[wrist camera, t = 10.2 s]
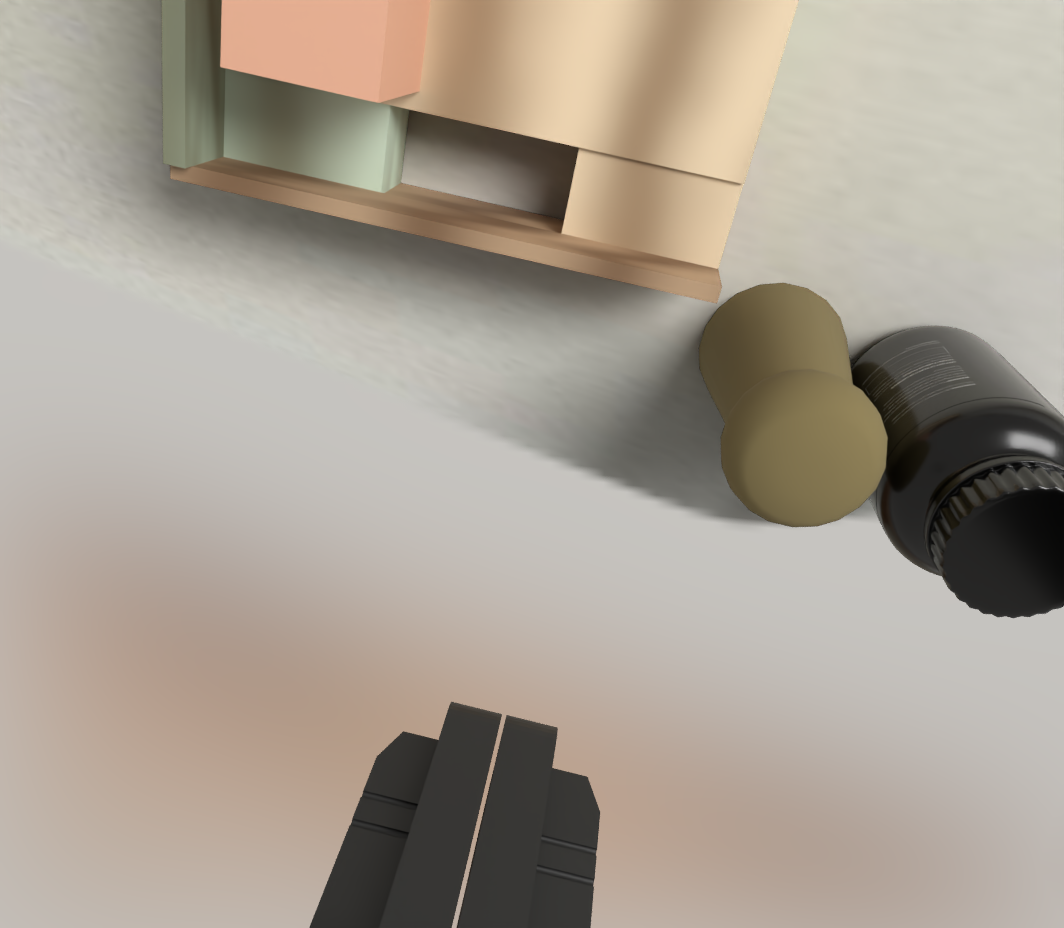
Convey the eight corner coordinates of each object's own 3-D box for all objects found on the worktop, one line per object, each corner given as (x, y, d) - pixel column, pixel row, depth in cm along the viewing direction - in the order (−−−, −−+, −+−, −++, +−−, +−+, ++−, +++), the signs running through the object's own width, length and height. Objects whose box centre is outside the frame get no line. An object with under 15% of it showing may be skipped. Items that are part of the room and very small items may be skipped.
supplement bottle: (825, 469, 39) (886, 639, 28) (844, 320, 35) (920, 448, 25) (990, 473, 38) (1118, 651, 27) (1024, 321, 35) (1183, 453, 24)
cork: (831, 425, 38) (888, 566, 28) (690, 413, 38) (698, 546, 28) (860, 288, 35) (935, 391, 25) (708, 277, 35) (723, 373, 26)
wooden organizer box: (830, -147, 29) (866, -183, 24) (710, 266, 35) (717, 307, 30) (246, -269, 29) (158, -331, 24) (235, 158, 36) (163, 180, 31)
